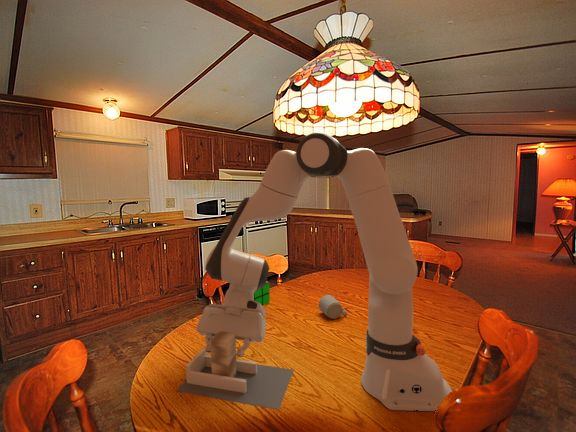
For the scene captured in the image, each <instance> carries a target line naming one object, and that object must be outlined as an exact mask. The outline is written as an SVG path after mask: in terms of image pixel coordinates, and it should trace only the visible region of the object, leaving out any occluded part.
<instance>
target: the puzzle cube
mask: <svg viewBox="0 0 576 432" xmlns="http://www.w3.org/2000/svg"><path fill="white" fill-rule="evenodd" d="M254 301H256V302H258V303H260V304H261V305H262V306H263V305H264V306H265V304H266V305H268V304H270V303H269V302H271V300H270V281H266V285H265V286H264V287H263V288H261V289H260V290H258V291H255V292H254ZM264 306H263V307H264Z"/></svg>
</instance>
